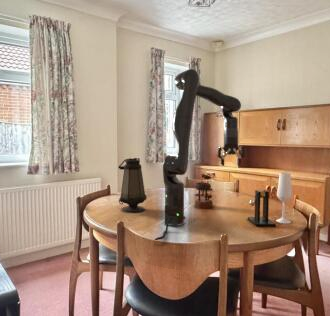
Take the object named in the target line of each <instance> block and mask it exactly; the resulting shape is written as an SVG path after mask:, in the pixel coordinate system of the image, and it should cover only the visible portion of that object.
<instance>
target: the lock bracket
mask: <svg viewBox="0 0 330 316" xmlns="http://www.w3.org/2000/svg"><path fill="white" fill-rule="evenodd" d="M260 191H261V190H258V189H255V190H254V199H255V206H254V216H247V221H249V222H250V223H252V224H253V226H254V227H257V228H260V227H261V228H263V227H265V228H274V227H277V223H276V222H274V221H272V219H270V218H269V210H270V208H269V207H270V205H269V204H270V191H268V190H266V189H263V190H262V191H265V197H264V198H262V216H261V198H260Z"/></svg>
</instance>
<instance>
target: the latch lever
mask: <svg viewBox="0 0 330 316" xmlns="http://www.w3.org/2000/svg"><path fill="white" fill-rule="evenodd" d="M259 191H260V199H263V198H264V197H265V191H263V190H262V191H261V190H259ZM248 204H249V206H251V207H255V198H254V199H250V200H249V201H248Z"/></svg>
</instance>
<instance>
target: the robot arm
mask: <svg viewBox="0 0 330 316" xmlns="http://www.w3.org/2000/svg"><path fill="white" fill-rule="evenodd" d="M174 85H175V87H176V88H177V90H180V91H181V92H182V94H181V98H180V101H179V102H178V105H177V106H176V108H175V111H174V113H173V118H172V126H171V129H172V133H173V135H174V137H175V140H176V143H177V154H176V155H173V154H171V155H170V154H168V155H166V156H165V157H164V158H163V162H162V178H163V185H164V225H165V230H164V231H163V233H162V235H161V236H159V237H155V239H154V240H157V241H158V240H162V239H164V238H165V236H166V233H167V232H168V230H169V226H171V227H179V226H183V225H185V221H186V216H185V183H184V182H183V181H182V180H180V179H179V178H178V177H177V176H183V175H185V174H186V173H187V171H188V167H189V156H190V155H189V152H190V141H191V140H190V139H191V131H192V125H193V117H194V110H195V103H196V98H197V97H198V98H201V99H203V100H206V101H208V102H210V103H211V104H213V105H214V106H217V107H220V108H221V113H222V117H223V120H224V122H223V123H224V124H223V126H224V129H223V146H218V147H217V155H216V156H217V158H218V159H220V165H221V166H222V167H225V158H226V157H227V155H228V156H231V155H232V156H234V155H235V156H236V157H237V158H236V160H237V161H236V164H237V166H241V164H242V159H243V158H245V147H244V145H243V146H239V128H238V127H239V126H238V125H239V119H238V117H237V116H234V115H233V113H237V112H239V111H240V110H241V108H242V103H241V101H240V100H239V99H238V98H237V97H235V96H232V95H228V94H225V93H223V92H222V91H220V90H218V89H216V88H214V87H210V86H206V85H203V84H200V75H199V72H198V71H197V70H196V69H194V68H189V69H186V70H184V71H182V72H180V73H178V74H177V75H176V76H175V78H174ZM222 151H224V152H223V153H222ZM238 151H240V153H239V152H238Z"/></svg>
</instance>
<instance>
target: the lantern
mask: <svg viewBox="0 0 330 316" xmlns="http://www.w3.org/2000/svg"><path fill="white" fill-rule="evenodd" d="M140 163H141V160H140V158H139V157H138V158H137V157H134V158H131V157H129V158H125V159H124V160H123V161H122V162H121V163H120V164H119V165H118V169H119V170H122V171H123V175H122V184H121V191H120V196H119V198H118V203H119V205H123V204H126V205H127V206H124V207H123V208H121V211H122V212H124V213H132V214H133V213H134V214H135V213H141V212H143V211H145V208H144V207H143V206H140V204H143V203H144V202H145V201H147V195H146V191H145V185H144V184H145V183H144V177H143V171H142V164H140ZM123 164H124V165H123Z"/></svg>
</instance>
